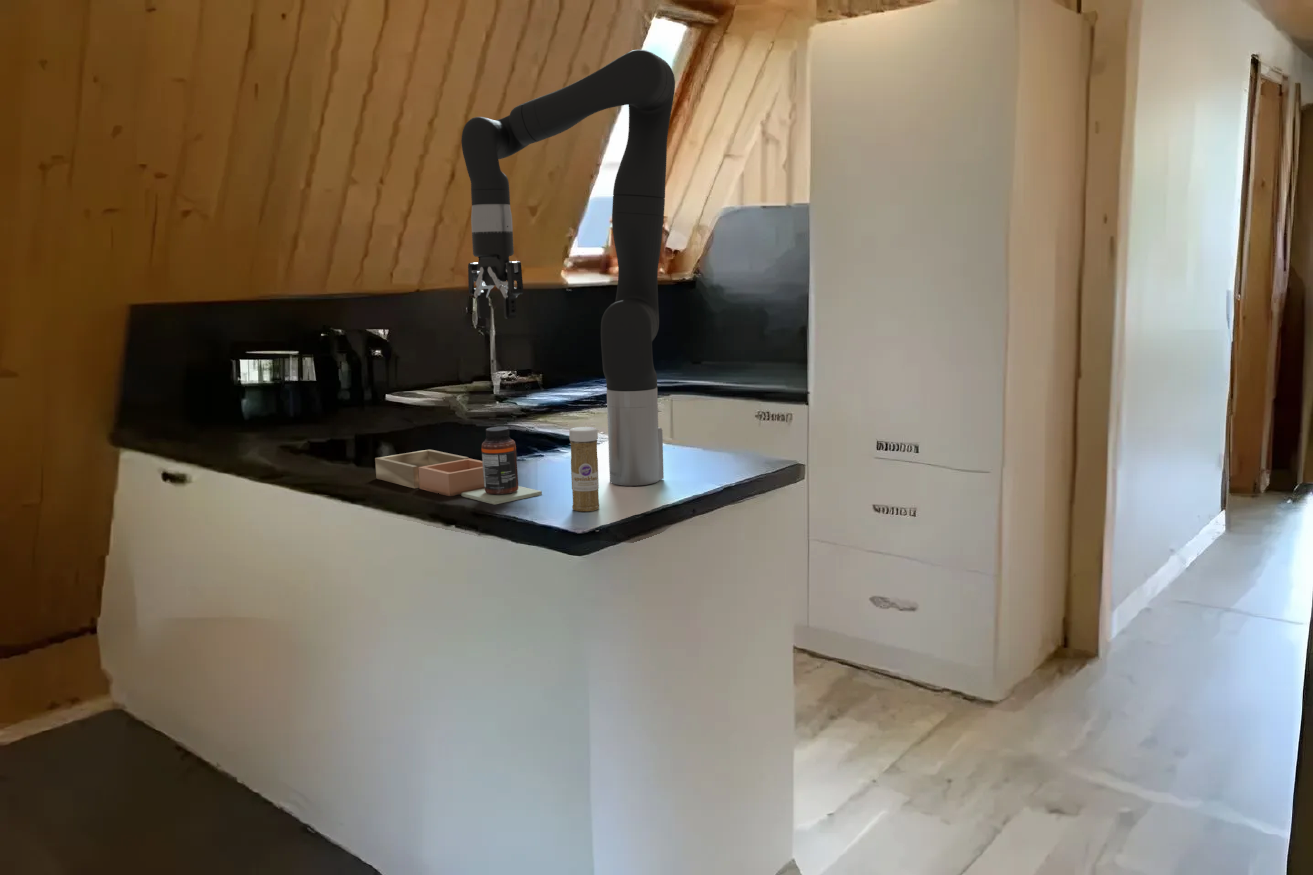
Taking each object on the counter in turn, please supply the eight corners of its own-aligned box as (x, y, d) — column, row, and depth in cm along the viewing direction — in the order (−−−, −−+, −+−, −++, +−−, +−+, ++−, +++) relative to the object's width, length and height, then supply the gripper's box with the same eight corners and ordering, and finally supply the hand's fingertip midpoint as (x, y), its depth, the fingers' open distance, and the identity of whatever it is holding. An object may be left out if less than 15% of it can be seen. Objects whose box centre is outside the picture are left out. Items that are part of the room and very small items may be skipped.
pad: (508, 486, 186) (508, 483, 186) (541, 494, 179) (541, 491, 179) (461, 496, 179) (461, 492, 179) (494, 504, 172) (494, 501, 172)
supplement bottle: (502, 486, 183) (498, 424, 181) (525, 490, 179) (522, 426, 177) (477, 493, 178) (473, 429, 176) (500, 497, 175) (497, 431, 173)
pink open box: (470, 479, 194) (469, 458, 193) (501, 486, 187) (500, 464, 186) (419, 488, 186) (418, 467, 186) (449, 496, 179) (448, 474, 178)
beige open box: (430, 468, 205) (429, 449, 204) (469, 477, 195) (468, 457, 194) (376, 478, 197) (375, 458, 196) (414, 488, 187) (412, 466, 186)
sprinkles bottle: (577, 513, 164) (574, 431, 162) (568, 507, 168) (565, 427, 166) (604, 510, 166) (601, 428, 164) (594, 504, 170) (591, 425, 168)
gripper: (531, 228, 187) (535, 318, 189) (487, 232, 197) (491, 316, 199) (497, 228, 181) (502, 320, 184) (453, 232, 192) (458, 318, 194)
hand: (496, 318), depth 192 cm, fingers open, 8 cm apart
